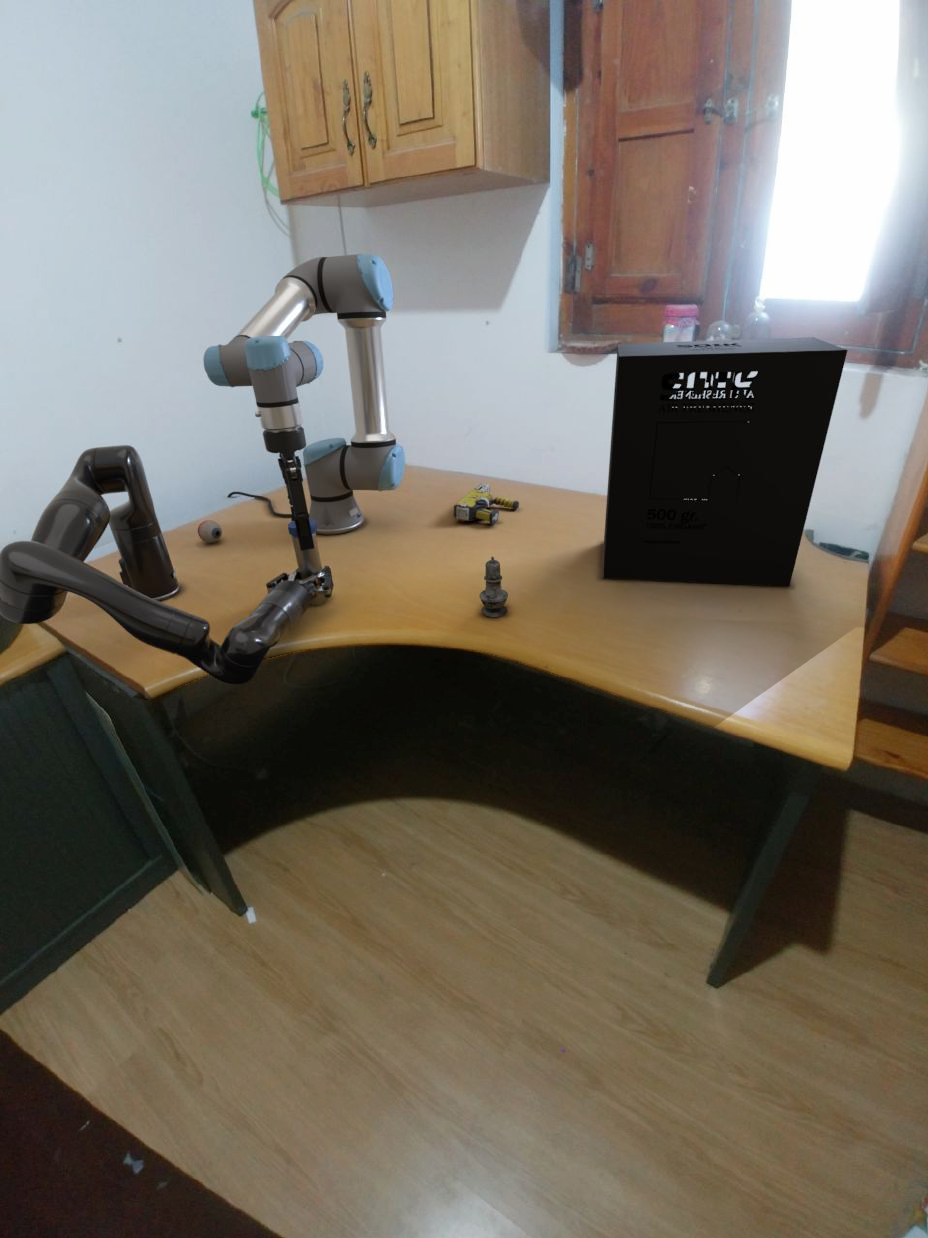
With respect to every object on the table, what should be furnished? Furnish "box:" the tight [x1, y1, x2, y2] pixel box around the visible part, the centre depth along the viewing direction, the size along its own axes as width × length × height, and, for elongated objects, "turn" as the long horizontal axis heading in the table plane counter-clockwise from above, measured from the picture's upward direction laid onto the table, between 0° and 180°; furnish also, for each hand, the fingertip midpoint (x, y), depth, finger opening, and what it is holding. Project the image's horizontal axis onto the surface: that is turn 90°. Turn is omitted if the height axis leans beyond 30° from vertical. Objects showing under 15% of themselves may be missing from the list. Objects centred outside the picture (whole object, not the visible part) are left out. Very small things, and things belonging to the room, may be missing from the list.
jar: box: [291, 533, 329, 607], centre depth 126 cm, size 5×5×17 cm
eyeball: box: [197, 519, 223, 544], centre depth 161 cm, size 6×6×6 cm
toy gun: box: [452, 482, 520, 526], centre depth 172 cm, size 5×24×15 cm
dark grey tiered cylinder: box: [478, 555, 509, 618], centre depth 119 cm, size 6×6×12 cm
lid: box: [287, 519, 317, 537], centre depth 122 cm, size 6×6×2 cm
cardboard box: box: [602, 336, 849, 588], centre depth 126 cm, size 38×20×45 cm, turn 78°
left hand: (316, 569), depth 130 cm, fingers closed on jar, 4 cm apart
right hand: (305, 541), depth 124 cm, fingers open, 7 cm apart
